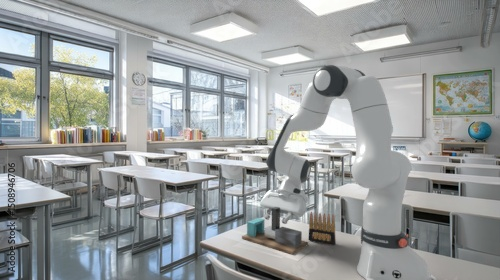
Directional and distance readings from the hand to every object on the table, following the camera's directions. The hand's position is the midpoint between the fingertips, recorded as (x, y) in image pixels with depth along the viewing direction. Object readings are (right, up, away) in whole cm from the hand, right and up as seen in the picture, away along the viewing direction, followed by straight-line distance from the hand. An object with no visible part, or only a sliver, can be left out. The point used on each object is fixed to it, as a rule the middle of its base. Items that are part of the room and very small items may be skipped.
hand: (274, 220), depth 118 cm
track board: (0, -9, +1) cm, 9 cm away
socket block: (-8, -9, +7) cm, 14 cm away
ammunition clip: (+19, -9, +1) cm, 21 cm away
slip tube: (+2, -7, -1) cm, 8 cm away
